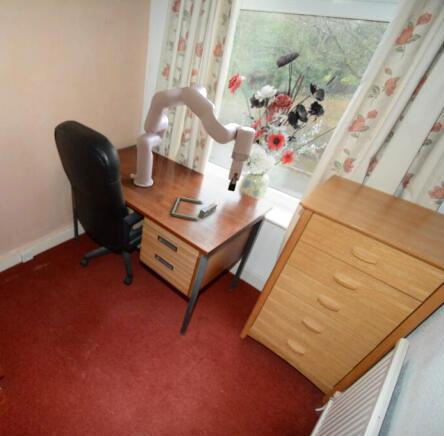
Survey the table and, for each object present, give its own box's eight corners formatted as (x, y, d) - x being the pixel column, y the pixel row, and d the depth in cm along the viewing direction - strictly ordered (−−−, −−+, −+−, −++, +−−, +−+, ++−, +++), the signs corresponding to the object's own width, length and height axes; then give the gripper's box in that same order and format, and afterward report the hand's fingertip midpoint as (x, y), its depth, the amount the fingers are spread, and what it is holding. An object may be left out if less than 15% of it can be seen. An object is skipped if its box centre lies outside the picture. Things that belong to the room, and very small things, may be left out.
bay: (171, 215, 146) (171, 213, 145) (178, 198, 160) (178, 196, 159) (196, 221, 142) (196, 218, 141) (201, 203, 157) (201, 200, 156)
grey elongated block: (202, 218, 144) (204, 212, 142) (198, 215, 146) (200, 209, 143) (215, 210, 151) (217, 204, 148) (211, 207, 152) (213, 201, 150)
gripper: (232, 148, 133) (224, 182, 144) (231, 160, 121) (222, 195, 132) (248, 151, 131) (239, 185, 142) (248, 162, 119) (238, 198, 130)
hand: (231, 190), depth 137 cm, fingers closed
